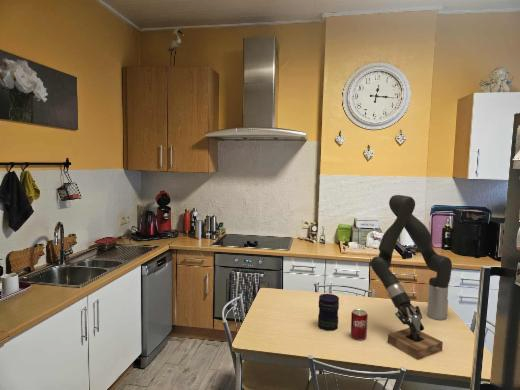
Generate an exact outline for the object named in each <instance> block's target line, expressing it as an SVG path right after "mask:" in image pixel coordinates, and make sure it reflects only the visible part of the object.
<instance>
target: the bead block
mask: <svg viewBox="0 0 520 390" xmlns="http://www.w3.org/2000/svg"><path fill="white" fill-rule="evenodd" d="M386 343H387V344H389V345H391V346H392V347H394V348H397V349H398V350H400V351H401V352H404V353H405V354H407V355H408V356H411V357H412V358H414V359H416V360H417V361H418V360H420V359H423V358H426V357H429V356H431V355H435V354H437V353H440V352H442V351H443V346H444V345H443V340H442V341H441V340H439V338H436V337H434V336H431V335H430V334H427V333H425V332H424V331H420V339H419V341H412V340H411V339H410V328H409V327H407V328H403V329H400V330H397V331H394V332H390V333H387V341H386Z"/></svg>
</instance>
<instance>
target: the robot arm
mask: <svg viewBox="0 0 520 390" xmlns="http://www.w3.org/2000/svg"><path fill="white" fill-rule="evenodd" d="M388 206H389V208H390V210H391V212H392V214H394V215H395V216H396V219H395V220H394V222H393V223H392V224H391V225H390V226H389V227H388V228H387V230H386V231H385V232H384V234H383V235H382V237H381V240H380V243H379V245H378V250H379V253H378V256H373V257H372V259H371V260H370V266H371V269H372V270H373V272H374V274H376V276H377V278H379V281H380V282H381V283H382V285H383V286H384V288H385V290H386V292H387V294H388V297H389V298H390V300H391V301H392V303H393V305H394V307H395V309H397V310H398V311H396V312H395V313H394V314H395V317H396V318H397V319H398V320H399V321H400V322H401V323H402V324H403V325H404V326H405V325H407V326H408V328H410V329H411V331H412V332H413V333H416V332H417V329H416V327H415V326H414V324H413V323H412V320H411V314H413V313H415V314H419V315H421V320H422V319H423V316H422V313H421V309H420V307H419V306H418V305H416V306H414V305H412V303H411V300H412V299H410V297H409V295H408V293H407V291H406V290H405V289H404V286H402V284H401V283H400V281H399V280H398V278H397V276H396V275H395V274H394V273H393V272H392V271H391V270H390V267H391V264H392V259H393V253H394V250H395V249H396V245H397V242H398V239H399V238H400V235H401V234H402V232H403V230H405V231H406V233H407V234H408V236H409V237H410V238H411V240H412V242H413V244H414V245H415V247H416V248H417V250H418V251H419V252H420V254H421V256H422V259H423V260H424V262H425V265H426V266H427V267H428V269H429V270H430V271H433V272H435V273H436V276H433V277H430V278H429V281H428V292H427V295H428V297H427V307H426V308H427V311H426V314H427V317H428V318H431V319H433V320H439V321H440V320H441V321H444V320H447V317H448V307H449V299H448V295H449V294H448V293H449V284H450V282H451V277H452V276H451V275H452V270H453V269H452V268H453V267H452V266H453V263H452V260H451V258H449V257H447V256H444V255H440V254H438V253H437V252H436V251H435V249H434V248H433V246H432V242H433V237H432V233H431V232H430V231H429V229H428V228H427V226H426V225H425V224H424V223H423V222H422V221H421V220H420V219H419V218H417V217H416V216H415V215H414V214H413V212H414V210H415V207H416V201H415V199H414V198H413V197H412V196H410V195H409V196H408V195H402V194H395V195H392V196H391V197H390V198H389V201H388ZM424 330H425V327H424V325H423V324H422V322H421V323H420V331H421V332H423V331H424Z"/></svg>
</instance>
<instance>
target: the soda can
mask: <svg viewBox="0 0 520 390" xmlns="http://www.w3.org/2000/svg"><path fill="white" fill-rule="evenodd" d="M350 316H351V321H350V337H351V338H352V339H354V340H357V341H364V340H365V339H367V337H368V335H367V334H368V316H369V315H368V313H367V311H365V310H363V309H359V308H357V309H353V310H352V311H351V315H350Z"/></svg>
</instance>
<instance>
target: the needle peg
mask: <svg viewBox="0 0 520 390" xmlns="http://www.w3.org/2000/svg"><path fill="white" fill-rule="evenodd" d="M421 315H422V314H421ZM421 315H419V314H415V313H413V314H411V320H412V323H413V324H414V326H415V327H416V329H417V332H416V333H413V332H412V331H411V329H410V339H411V340H412V341H419V339H420V323H422V319H421Z"/></svg>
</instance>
